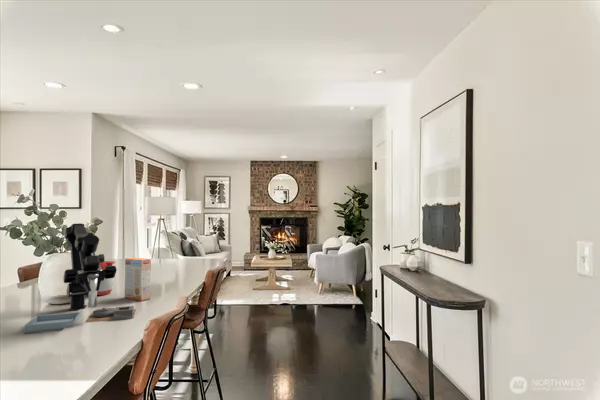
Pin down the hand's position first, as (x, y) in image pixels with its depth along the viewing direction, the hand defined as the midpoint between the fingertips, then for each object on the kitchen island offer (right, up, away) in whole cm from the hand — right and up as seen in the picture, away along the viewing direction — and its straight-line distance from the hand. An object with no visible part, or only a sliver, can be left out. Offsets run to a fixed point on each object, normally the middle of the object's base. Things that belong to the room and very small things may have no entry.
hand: (93, 290), depth 151 cm
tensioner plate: (+3, -14, +10) cm, 17 cm away
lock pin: (-1, -7, +1) cm, 7 cm away
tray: (-14, -13, -2) cm, 20 cm away
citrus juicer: (-26, -15, +54) cm, 62 cm away
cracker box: (-2, -15, +44) cm, 47 cm away
